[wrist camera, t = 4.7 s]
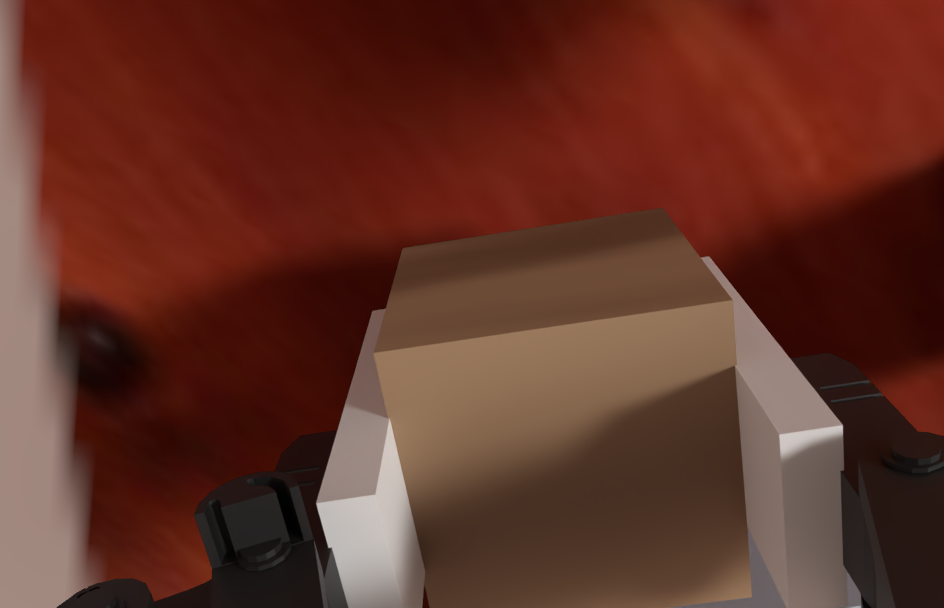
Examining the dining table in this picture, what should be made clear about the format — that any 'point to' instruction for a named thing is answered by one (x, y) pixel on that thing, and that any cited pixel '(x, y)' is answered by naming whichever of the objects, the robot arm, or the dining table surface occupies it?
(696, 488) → the walnut cube
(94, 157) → the dining table surface
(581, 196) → the dining table surface
